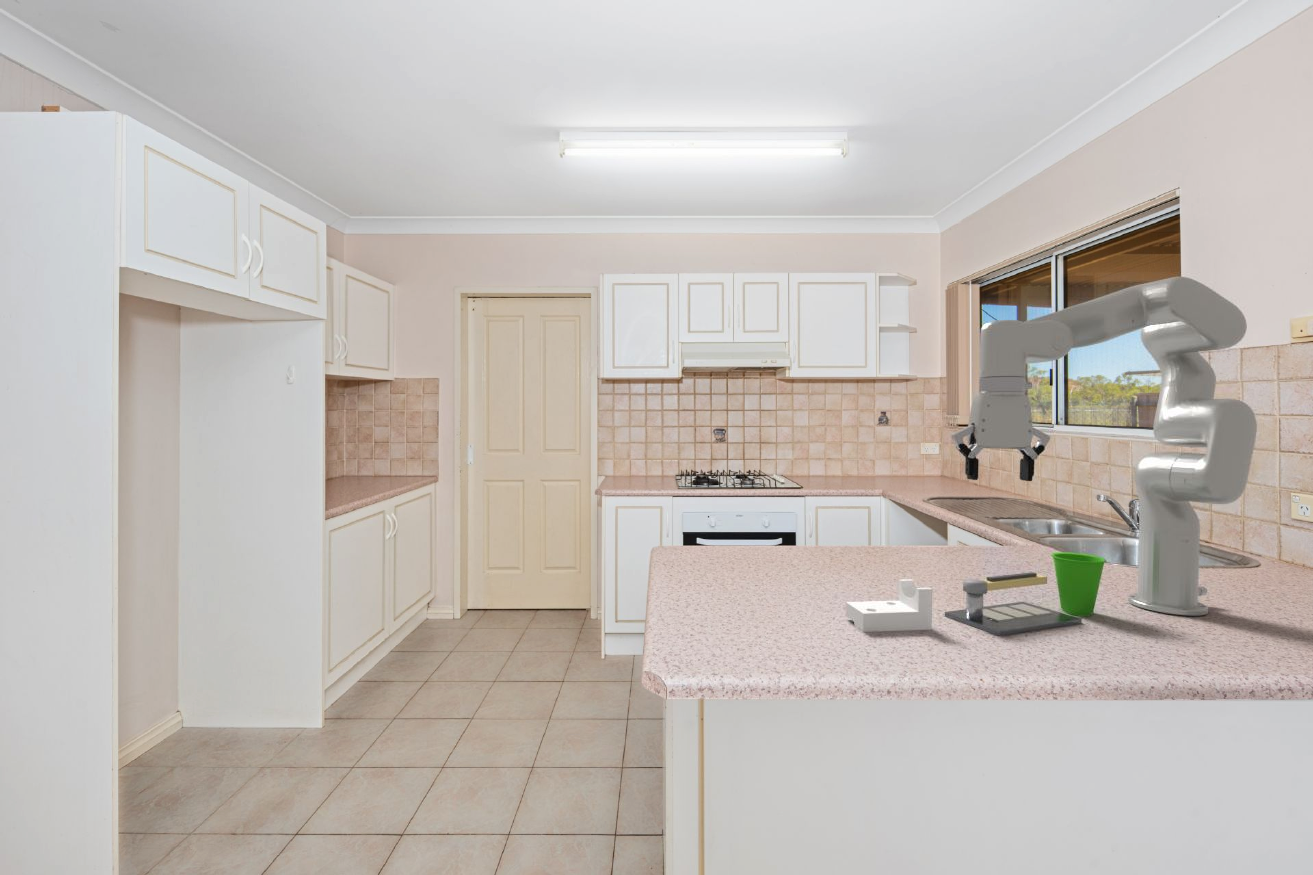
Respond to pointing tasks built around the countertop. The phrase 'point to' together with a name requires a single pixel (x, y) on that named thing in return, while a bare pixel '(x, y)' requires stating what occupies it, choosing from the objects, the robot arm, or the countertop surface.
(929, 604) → the bracket
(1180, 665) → the countertop surface
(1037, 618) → the grey base plate
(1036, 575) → the swing arm
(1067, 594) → the cup
